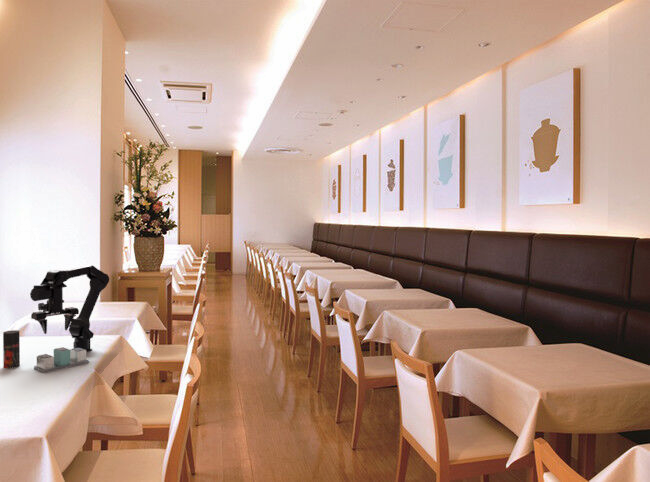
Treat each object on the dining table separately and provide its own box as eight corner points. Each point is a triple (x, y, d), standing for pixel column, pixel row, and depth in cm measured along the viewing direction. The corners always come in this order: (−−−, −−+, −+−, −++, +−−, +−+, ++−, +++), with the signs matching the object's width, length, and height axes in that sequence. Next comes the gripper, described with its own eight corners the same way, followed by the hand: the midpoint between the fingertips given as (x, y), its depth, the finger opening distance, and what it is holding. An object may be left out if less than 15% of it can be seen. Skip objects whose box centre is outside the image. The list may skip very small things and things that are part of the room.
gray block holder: (78, 359, 227) (78, 346, 227) (88, 362, 222) (88, 349, 221) (34, 368, 211) (34, 355, 211) (44, 372, 206) (44, 358, 206)
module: (63, 360, 220) (62, 346, 220) (70, 363, 216) (70, 349, 216) (53, 362, 217) (53, 348, 217) (61, 365, 213) (61, 351, 213)
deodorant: (23, 365, 216) (22, 331, 215) (10, 369, 210) (10, 333, 210) (12, 363, 218) (12, 329, 217) (0, 367, 212) (-1, 332, 212)
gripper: (67, 293, 239) (67, 326, 240) (25, 298, 224) (25, 333, 225) (79, 296, 232) (79, 329, 233) (37, 301, 217) (37, 336, 218)
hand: (55, 332), depth 227 cm, fingers open, 9 cm apart
